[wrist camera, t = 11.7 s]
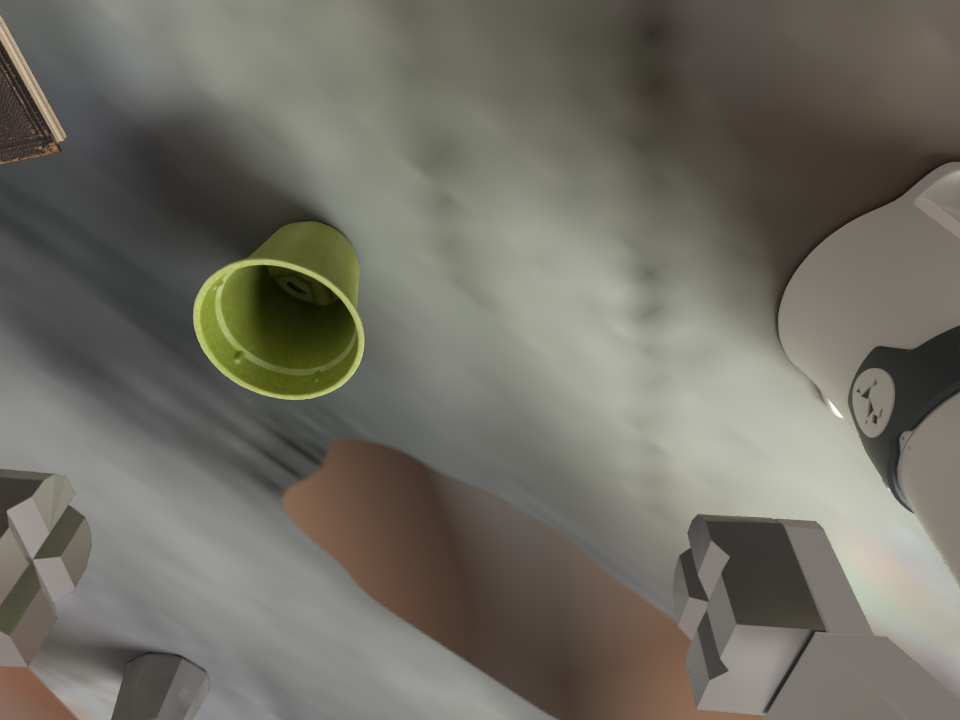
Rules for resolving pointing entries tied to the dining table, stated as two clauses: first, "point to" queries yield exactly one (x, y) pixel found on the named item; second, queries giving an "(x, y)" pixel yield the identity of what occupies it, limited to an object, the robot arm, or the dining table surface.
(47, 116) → the hardcover book
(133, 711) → the coffeepot
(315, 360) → the plant pot
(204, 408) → the dining table surface
